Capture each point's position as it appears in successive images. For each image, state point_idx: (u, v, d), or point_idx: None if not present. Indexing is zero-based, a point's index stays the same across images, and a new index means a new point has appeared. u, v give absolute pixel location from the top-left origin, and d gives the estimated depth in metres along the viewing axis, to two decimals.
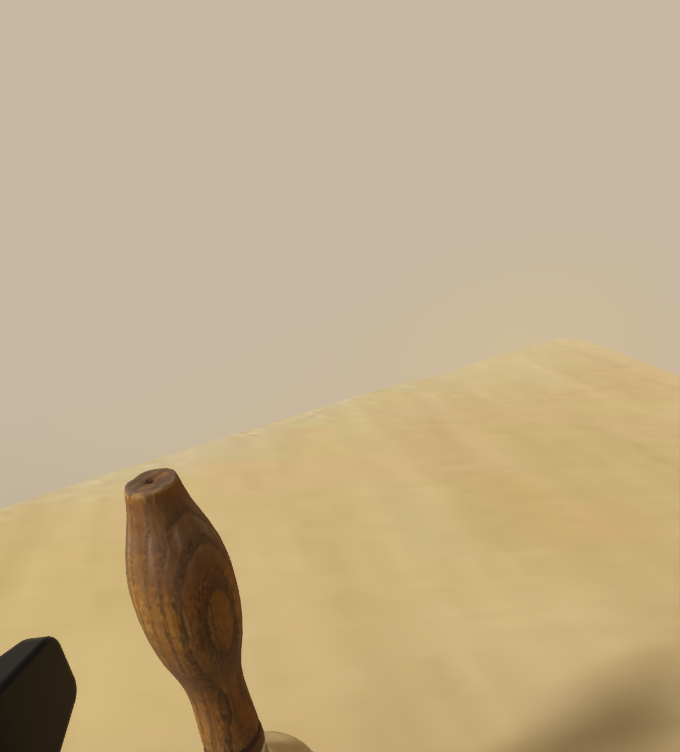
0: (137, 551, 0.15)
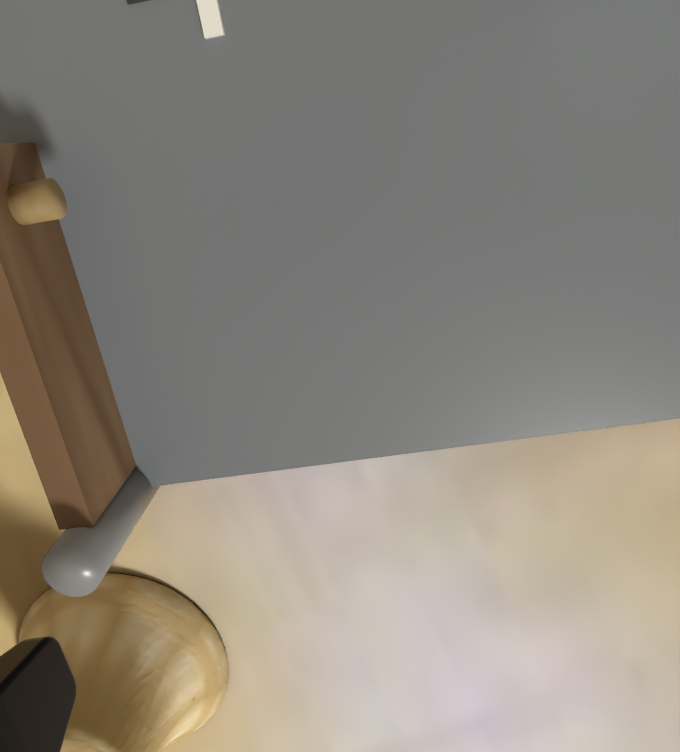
0: None
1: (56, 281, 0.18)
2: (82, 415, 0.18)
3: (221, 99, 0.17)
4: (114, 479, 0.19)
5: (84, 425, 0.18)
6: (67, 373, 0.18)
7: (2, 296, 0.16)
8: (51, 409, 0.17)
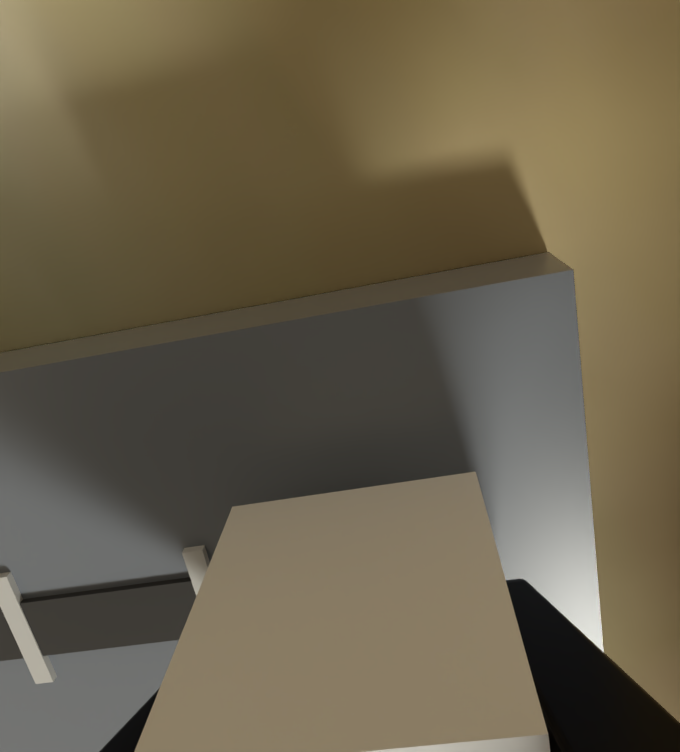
0: None
1: None
2: None
3: None
4: None
5: None
6: None
7: None
8: None
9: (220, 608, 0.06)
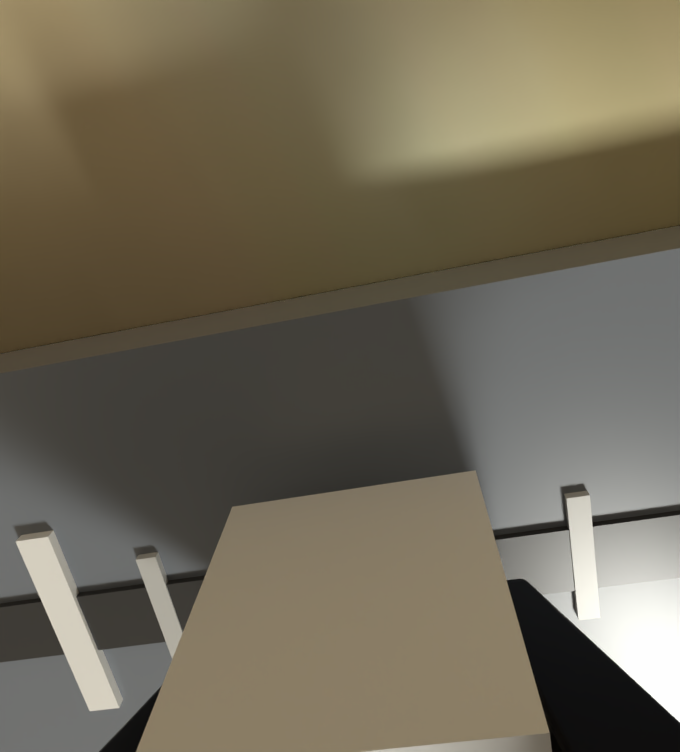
0: None
1: None
2: None
3: None
4: None
5: None
6: None
7: None
8: None
9: (221, 608, 0.06)
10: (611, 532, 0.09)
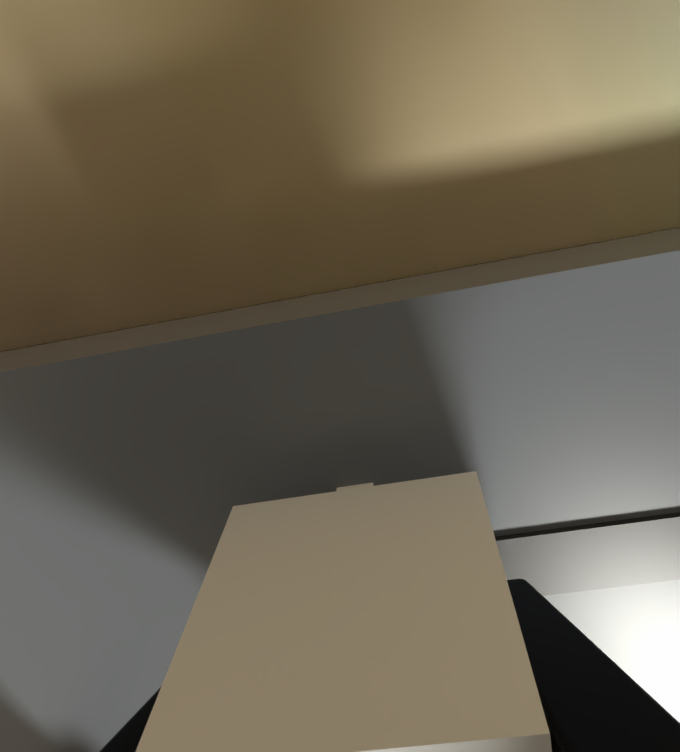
0: None
1: None
2: None
3: None
4: None
5: None
6: None
7: None
8: None
9: (221, 607, 0.06)
10: None
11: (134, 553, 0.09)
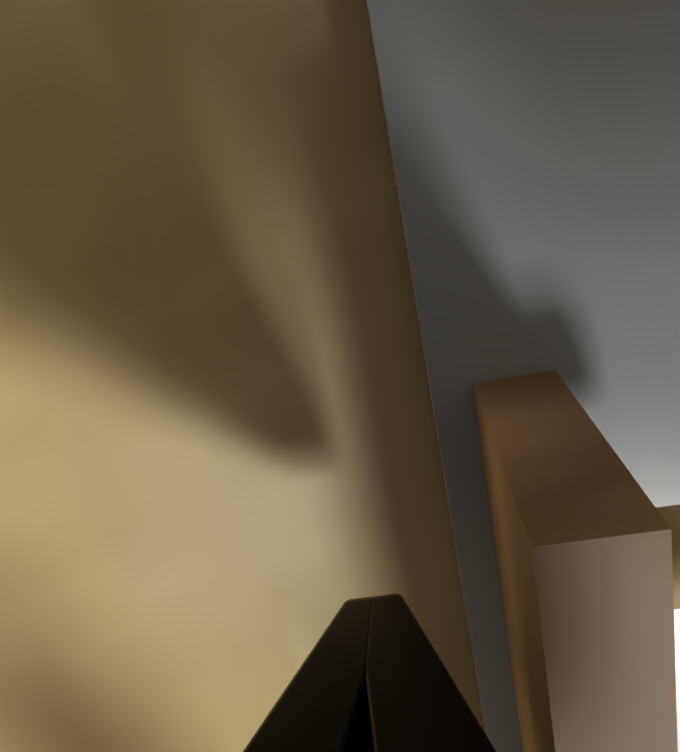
0: None
1: None
2: None
3: None
4: None
5: None
6: None
7: None
8: None
9: None
10: None
11: None
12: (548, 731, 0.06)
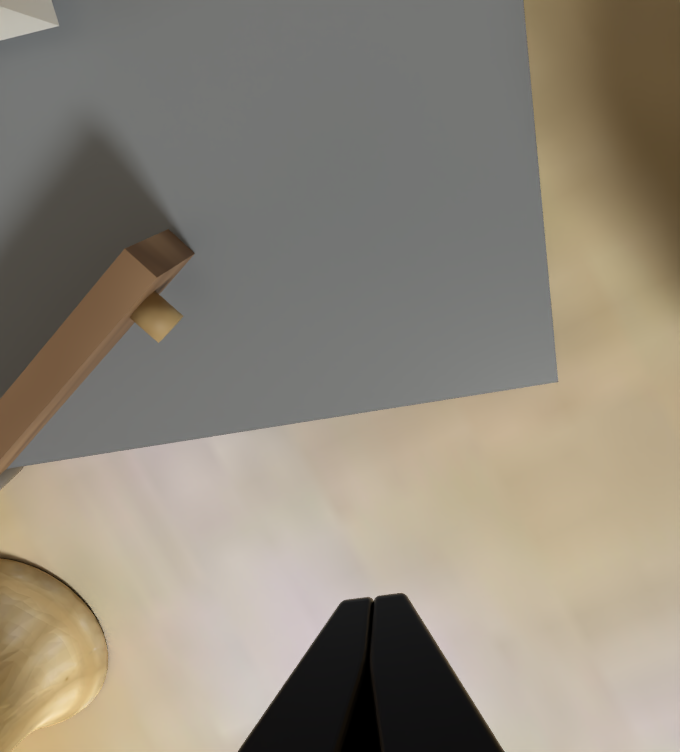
0: None
1: (105, 350, 0.19)
2: (20, 443, 0.19)
3: (26, 87, 0.18)
4: None
5: (14, 450, 0.19)
6: (44, 415, 0.19)
7: (67, 366, 0.17)
8: (10, 446, 0.18)
9: None
10: None
11: None
12: None
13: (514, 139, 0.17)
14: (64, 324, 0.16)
